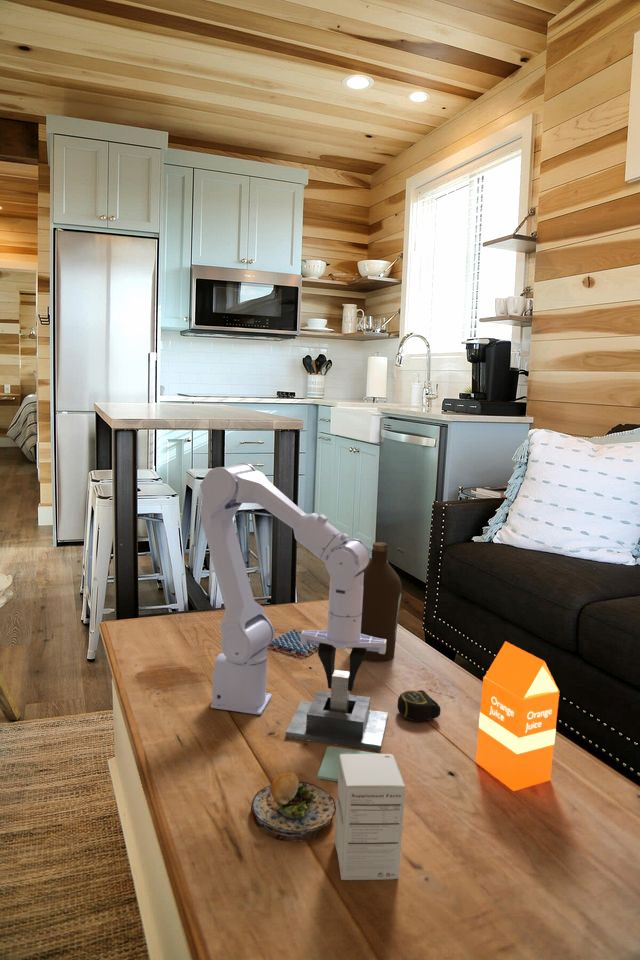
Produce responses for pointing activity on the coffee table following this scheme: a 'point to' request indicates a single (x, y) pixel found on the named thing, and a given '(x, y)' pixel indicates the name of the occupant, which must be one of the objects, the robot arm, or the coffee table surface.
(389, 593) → the olive oil
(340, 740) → the plate
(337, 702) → the light grey rectangular block
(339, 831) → the supplement box
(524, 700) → the orange juice
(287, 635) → the woven mat
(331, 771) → the mat
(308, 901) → the coffee table surface
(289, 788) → the burger
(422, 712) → the tape measure
